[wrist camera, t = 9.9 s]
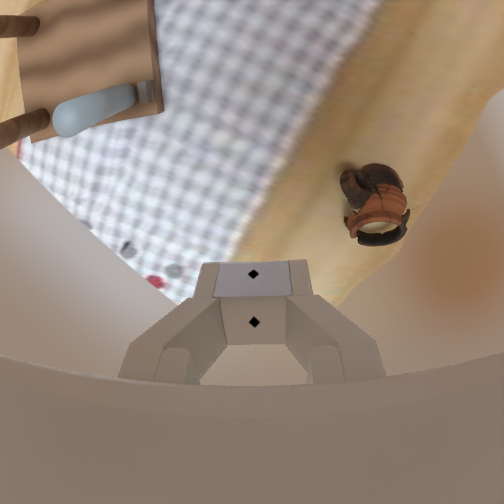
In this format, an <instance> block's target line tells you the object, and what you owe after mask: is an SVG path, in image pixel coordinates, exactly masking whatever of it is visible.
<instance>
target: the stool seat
mask: <svg viewBox="0 0 504 504" xmlns="http://www.w3.org/2000/svg"><path fill="white" fill-rule="evenodd" d="M10 37H17V46H18V60H19V70H20V79H21V87H22V94H23V101H24V107H25V113H26V114H23V115H20V116H17V117H15V118H12V119H9V120H7V121H4V122H2V123H0V149H2V148H4V147H6V146H8V145H10V144H12V143H14V142H16V141H18V140H21V139H23V138H25V137H27V136H29V135H30V139H31V143H35V142H38V141H41V140H45V139H48V138H51V137H55V136H58V135H59V134H58V133H57V132H56V131H55V129H54V126H53V122H52V117H53V113H54V110H55V109H56V107H57V106H58V105H59V104H61V103H63V102H66V101H68V100H71V99H74V98H77V97H80V96H83V95H86V94H89V93H92V92H95V91H99V90H102V89H105V88H109V87H112V86H116V85H120V84H124V83H126V84H130V85H132V86H133V87H134V89H135V90H136V95H137V96H136V101H135V103H134V104H133V105H132V106H131V107H129V108H127V109H125V110H123V111H121V112H119V113H117V114H114V115H112V116H110V117H108V118H106V119H104V120H102V121H100V122H98V123H97V124H95V125H93V126H91V127H94V126H98V125H102V124H107V123H112V122H116V121H121V120H126V119H132V118H137V117H143V116H149V115H155V114H159V113H161V112H163V111H164V107H163V99H162V90H161V82H160V72H159V63H158V52H157V41H156V29H155V15H154V0H46V1H44V2H42V3H40V4H39V5H37V6H35V7H33V8H31V9H29V10H27V11H26V12H24V13H22V14H20V15H19V16H14V15H0V38H10Z"/></svg>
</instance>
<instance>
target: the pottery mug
mask: <svg viewBox="0 0 504 504" xmlns="http://www.w3.org/2000/svg"><path fill="white" fill-rule="evenodd" d="M363 169H364V173H362V172H358V171H356V170H354V169H348V170H346V171H345V172H344V173H343V174H342V175H341V178H340V185H341V188H342V191H343V192H344V194H345V195H346V197H347V198H348V202H349V203H350V205H351V206H352V207H353V208H354V209H358V208H360V209H359V212H358V213H356V212H355V211H352V212H351V214H350V216H349V218H346V217H344V223H345V226H346V227H347V229H348V230H349V231H350V236H351V238H356V237H358V243H359V244H361V245H364V246H384V245H388V244H392V243H394V242H397V241H398V240H400V239H401V238H402V237H403V236H404V235H405V233H406V231H407V228H406V226H405V225H406V223H407V221H408V219H409V216H410V210H409V209H407V212H406V213H405V214H404V215H402V214H403V213H404V210H405V208H406V205H407V202H406V197H405V196H404V194H403V193H402V192H403V190H402V188H403V183H402V181H401V180H400V179H399V177H398V175H397V173H396V172H395V171H394V170H392V169H391V168H389V167H387V166H385V165H379V164H372V165H366V166H363ZM373 186H374V187H375V189H376V191H377V193H376V192H373V193H372V191H371V190H370V189H371V188H372V187H373ZM380 221H385V222H391V223H394V224H396V225H398V226H397V227H396V228H395V229H393V230H391V231H387V232H385V233H383V234H381V233H365V232H362V231H360V230H358V229H359V228H361V227H362V226H363V225H365V224H368V223H373V222H380Z"/></svg>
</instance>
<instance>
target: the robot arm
mask: <svg viewBox="0 0 504 504" xmlns="http://www.w3.org/2000/svg"><path fill="white" fill-rule="evenodd" d="M246 344H286V346H287V347H288V349H289V350H290V352H291V353H292V354H293V355H294V357H295V358H296V359H297V360H298V362H299V363H300V364H301V365H302V367H303V368H304V369H305V370H306V372H307V380H306V384H301V385H276V386H215V385H200V382H199V380H200V379H201V378H202V376H203V375H204V374H205V373H206V372H207V370H208V369H209V368H210V367H211V366H212V364H213V363H214V362H215V361H216V359H217V358H218V357H219V356H220V354H221V353H222V352H223V351H224V350H225V348H226V347H227V345H246ZM0 504H504V352H501V353H498V354H494V355H490V356H487V357H482V358H478V359H474V360H470V361H466V362H462V363H457V364H453V365H448V366H443V367H439V368H433V369H428V370H423V371H417V372H411V373H405V374H399V375H392V376H386V373H385V370H384V366H383V363H382V360H381V356H380V353H379V349H378V347H377V343H376V341H375V340H374V339H373V338H372V337H370V336H369V335H368V334H367V333H366V332H364V331H363V330H362V329H360V328H359V327H358V326H357V325H356V324H354V323H353V322H352V321H350V320H349V319H348V318H347V317H346V316H344V315H343V314H342V313H341V312H339V311H338V310H337V309H336V308H334V307H333V306H332V305H331V304H329V303H328V302H327V301H326V300H324V299H323V298H322V297H321V296H319V295H313V291H312V285H311V280H310V275H309V270H308V265H307V261H306V260H305V259H300V260H289V261H271V262H221V263H220V262H207V263H203V264H202V266H201V270H200V273H199V277H198V281H197V284H196V288H195V292H194V295H193V298H187V299H186V300H185V301H183V302H182V303H181V304H180V305H178V306H177V307H176V308H175V309H173V310H172V311H171V312H169V313H168V314H167V315H166V316H165V317H163V318H162V319H161V320H159V321H158V322H157V323H155V324H154V325H153V326H152V327H151V328H149V329H148V330H147V331H145V332H144V333H143V334H142V335H140V336H139V337H138V338H136V339H135V340H134V341H133V342H131V343H130V344H129V347H128V350H127V352H126V355H125V357H124V360H123V363H122V366H121V368H120V371H119V374H118V377H117V378H115V377H107V376H99V375H94V374H87V373H81V372H75V371H70V370H64V369H59V368H54V367H49V366H44V365H40V364H35V363H31V362H27V361H22V360H18V359H14V358H10V357H7V356H3V355H0Z"/></svg>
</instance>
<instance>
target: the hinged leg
mask: <svg viewBox="0 0 504 504" xmlns="http://www.w3.org/2000/svg"><path fill="white" fill-rule="evenodd" d="M136 96H137V95H136V90H135V89H134V87H133V86H132V85H130V84H126V83H124V84H120V85H116V86H112V87H109V88H105V89H102V90H99V91H95V92H92V93H89V94H86V95H83V96H80V97H77V98H74V99H71V100H68V101H66V102H63V103H61V104H59V105H58V106H57V107H56V109H55V110H54V113H53V117H52V122H53V126H54V129H55V131H56V132H57V133H58V134H59V135H60V136H62V137H66V138H69V137H72V136H74V135H76V134H78V133H80V132H82V131H83V130H85V129H87V128H89V127H91V126H93V125H95V124H97V123H98V122H100V121H102V120H104V119H106V118H108V117H110V116H112V115H114V114H117V113H119V112H121V111H123V110H125V109H127V108H129V107H131V106H132V105H133V104H134V103H135V101H136Z"/></svg>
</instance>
